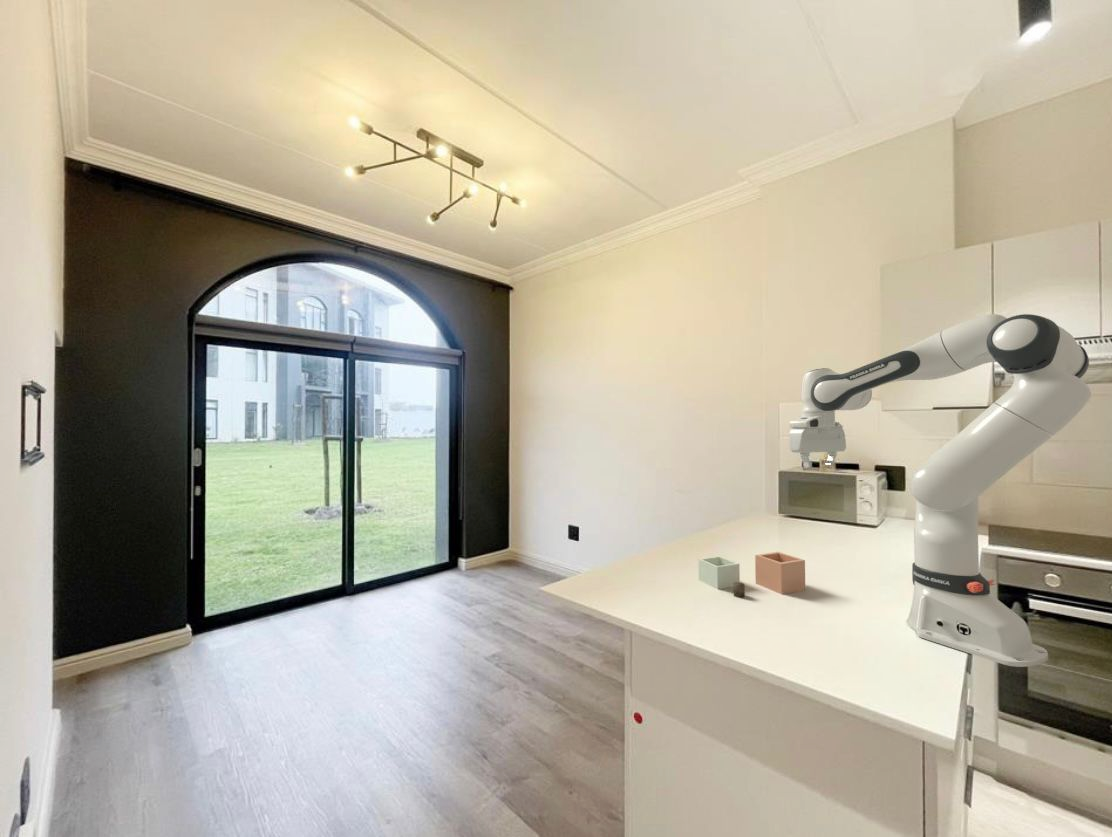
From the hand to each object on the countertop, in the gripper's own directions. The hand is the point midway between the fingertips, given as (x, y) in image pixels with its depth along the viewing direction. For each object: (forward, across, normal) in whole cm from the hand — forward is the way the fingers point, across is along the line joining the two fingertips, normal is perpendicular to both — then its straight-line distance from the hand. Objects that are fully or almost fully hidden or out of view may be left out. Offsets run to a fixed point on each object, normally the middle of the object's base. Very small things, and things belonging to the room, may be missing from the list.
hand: (818, 466), depth 135 cm
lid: (+35, +35, +3) cm, 49 cm away
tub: (+34, +33, -7) cm, 48 cm away
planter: (+34, +19, +2) cm, 39 cm away
